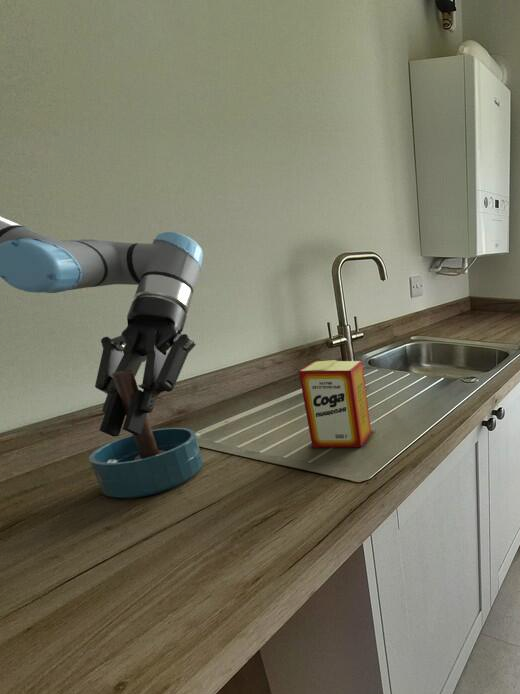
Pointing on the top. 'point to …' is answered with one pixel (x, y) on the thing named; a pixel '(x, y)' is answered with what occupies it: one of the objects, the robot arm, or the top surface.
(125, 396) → the stirring stick
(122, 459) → the bowl
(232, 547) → the top surface
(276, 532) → the top surface
